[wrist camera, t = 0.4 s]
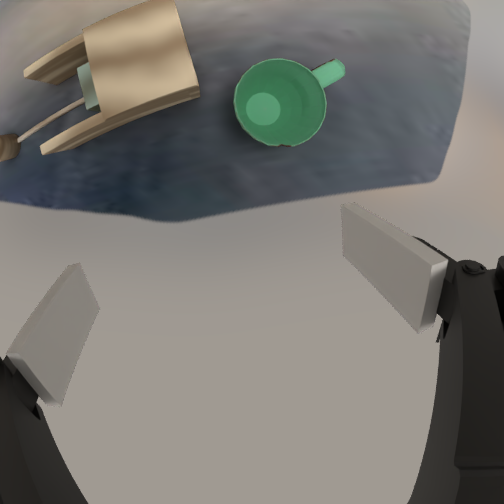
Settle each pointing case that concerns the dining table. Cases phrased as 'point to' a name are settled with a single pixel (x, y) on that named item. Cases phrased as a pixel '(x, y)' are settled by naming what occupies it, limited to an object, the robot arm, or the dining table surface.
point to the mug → (284, 100)
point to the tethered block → (11, 143)
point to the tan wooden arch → (123, 69)
